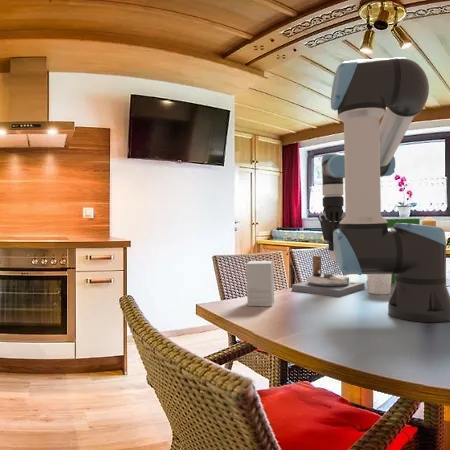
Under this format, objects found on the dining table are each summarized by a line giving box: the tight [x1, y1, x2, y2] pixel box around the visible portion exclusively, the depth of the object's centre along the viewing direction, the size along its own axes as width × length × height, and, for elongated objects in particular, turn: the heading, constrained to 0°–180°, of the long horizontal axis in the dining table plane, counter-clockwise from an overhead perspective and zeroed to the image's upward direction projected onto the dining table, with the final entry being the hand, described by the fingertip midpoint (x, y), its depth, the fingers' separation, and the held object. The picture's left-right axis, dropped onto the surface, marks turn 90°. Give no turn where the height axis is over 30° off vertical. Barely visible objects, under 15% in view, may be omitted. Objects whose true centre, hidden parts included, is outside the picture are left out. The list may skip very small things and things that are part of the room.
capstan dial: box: [307, 255, 350, 286], centre depth 136 cm, size 16×14×9 cm
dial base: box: [291, 280, 366, 298], centre depth 136 cm, size 18×18×2 cm
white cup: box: [366, 274, 392, 295], centre depth 129 cm, size 8×8×10 cm
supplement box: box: [245, 260, 275, 307], centre depth 116 cm, size 7×7×13 cm
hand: (334, 259), depth 145 cm, fingers closed
